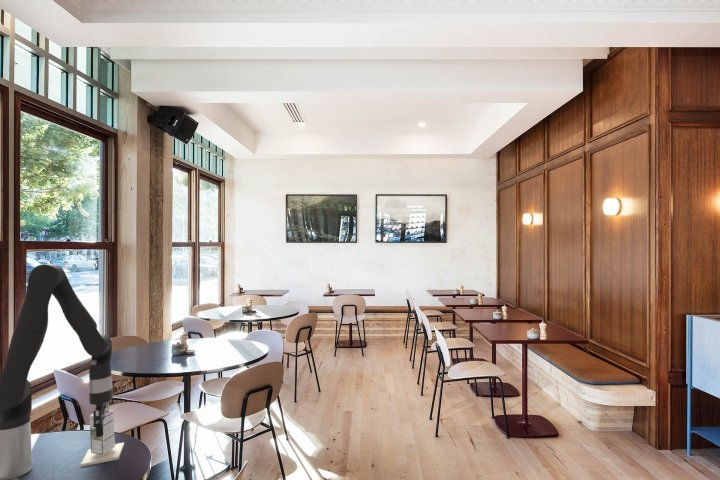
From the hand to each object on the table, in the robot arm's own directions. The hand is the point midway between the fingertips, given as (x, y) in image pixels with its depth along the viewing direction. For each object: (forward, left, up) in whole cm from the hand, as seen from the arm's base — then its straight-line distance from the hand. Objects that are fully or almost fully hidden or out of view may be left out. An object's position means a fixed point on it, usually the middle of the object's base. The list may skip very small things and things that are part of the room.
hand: (102, 431), depth 155 cm
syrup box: (0, 0, -7) cm, 7 cm away
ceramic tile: (0, 0, -9) cm, 9 cm away
